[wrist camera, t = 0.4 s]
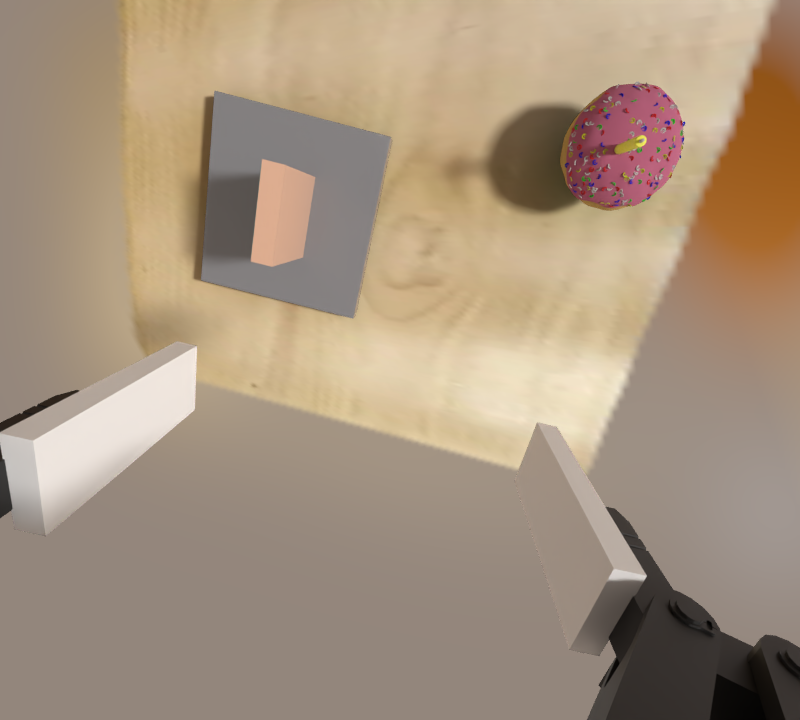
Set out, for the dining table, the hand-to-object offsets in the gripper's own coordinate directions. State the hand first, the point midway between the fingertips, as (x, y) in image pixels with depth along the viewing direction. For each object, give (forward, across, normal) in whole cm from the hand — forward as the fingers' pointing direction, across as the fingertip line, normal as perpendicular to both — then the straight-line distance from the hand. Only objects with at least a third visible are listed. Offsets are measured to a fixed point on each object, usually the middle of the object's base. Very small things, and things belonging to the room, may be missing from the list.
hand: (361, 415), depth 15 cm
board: (+26, -11, +5) cm, 28 cm away
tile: (+24, -10, +5) cm, 27 cm away
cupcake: (+26, +14, +15) cm, 33 cm away
